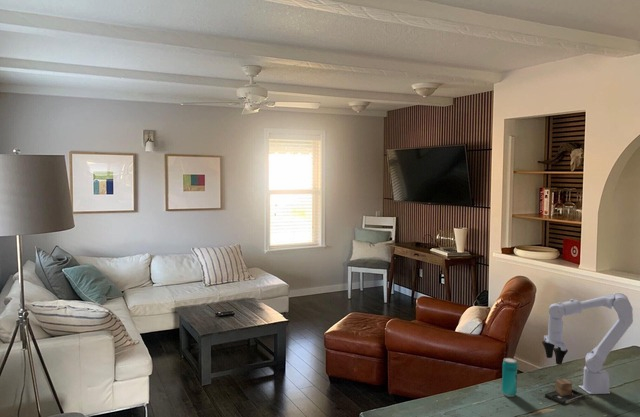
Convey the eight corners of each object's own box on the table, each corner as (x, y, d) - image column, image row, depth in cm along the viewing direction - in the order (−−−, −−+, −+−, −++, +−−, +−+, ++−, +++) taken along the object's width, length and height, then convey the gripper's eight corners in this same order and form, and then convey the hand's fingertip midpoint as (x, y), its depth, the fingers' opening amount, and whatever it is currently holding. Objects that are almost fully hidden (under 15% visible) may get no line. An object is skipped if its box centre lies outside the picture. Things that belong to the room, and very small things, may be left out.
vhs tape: (562, 406, 201) (562, 401, 201) (544, 398, 208) (545, 394, 208) (583, 398, 208) (583, 394, 208) (566, 391, 215) (566, 387, 215)
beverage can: (517, 398, 207) (518, 363, 206) (503, 396, 208) (504, 362, 207) (515, 392, 212) (515, 358, 211) (500, 391, 214) (501, 357, 213)
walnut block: (565, 390, 211) (565, 379, 211) (571, 395, 207) (571, 383, 206) (555, 390, 211) (555, 379, 210) (561, 395, 206) (561, 383, 206)
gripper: (538, 326, 227) (536, 355, 227) (555, 336, 212) (554, 367, 213) (552, 325, 227) (551, 354, 228) (571, 336, 213) (570, 366, 214)
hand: (554, 360), depth 221 cm, fingers open, 7 cm apart
